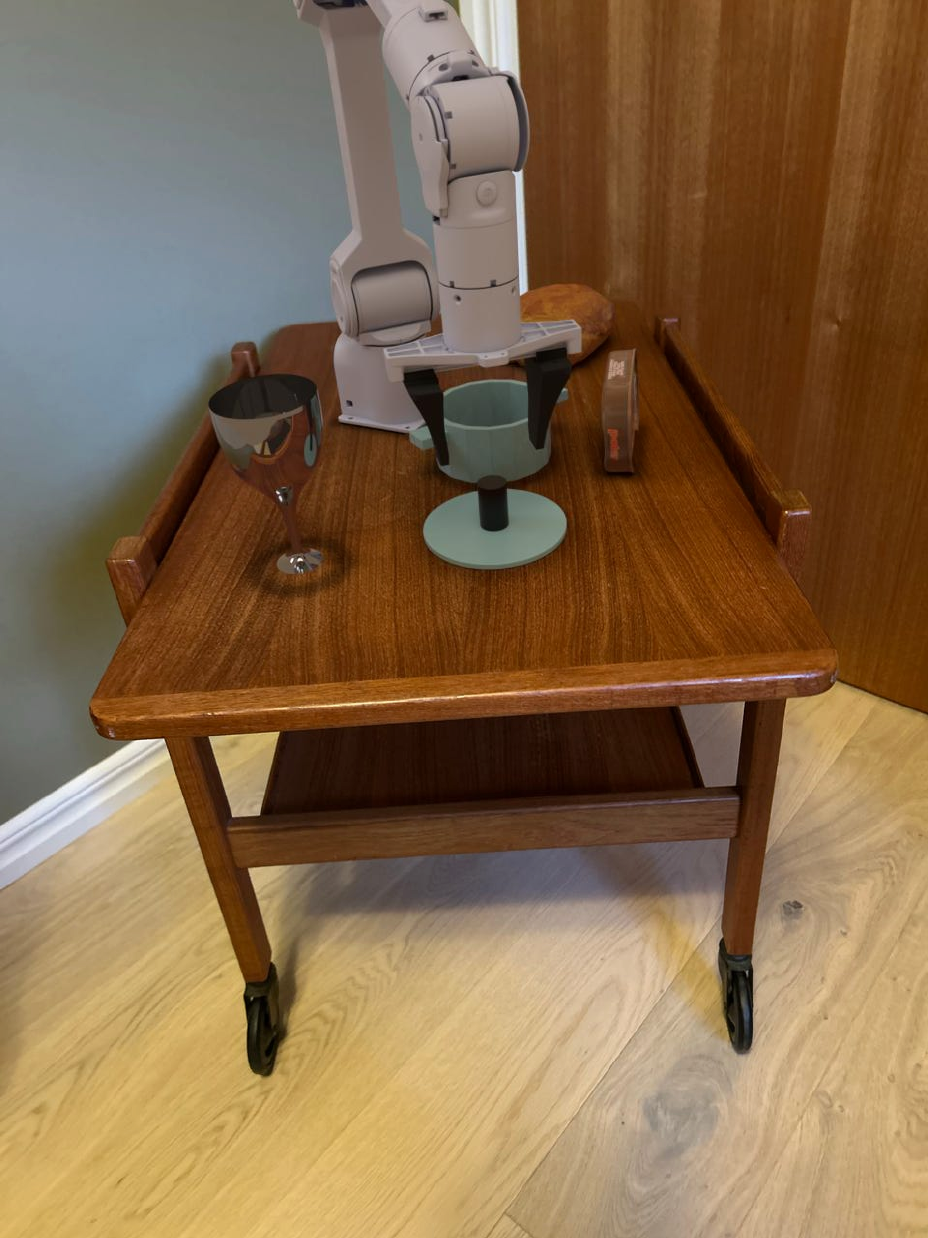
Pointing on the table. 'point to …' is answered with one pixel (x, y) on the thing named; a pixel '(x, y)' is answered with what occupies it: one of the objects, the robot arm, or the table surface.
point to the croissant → (571, 313)
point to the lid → (494, 527)
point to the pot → (488, 431)
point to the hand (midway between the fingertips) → (489, 451)
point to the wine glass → (273, 446)
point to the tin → (620, 409)
